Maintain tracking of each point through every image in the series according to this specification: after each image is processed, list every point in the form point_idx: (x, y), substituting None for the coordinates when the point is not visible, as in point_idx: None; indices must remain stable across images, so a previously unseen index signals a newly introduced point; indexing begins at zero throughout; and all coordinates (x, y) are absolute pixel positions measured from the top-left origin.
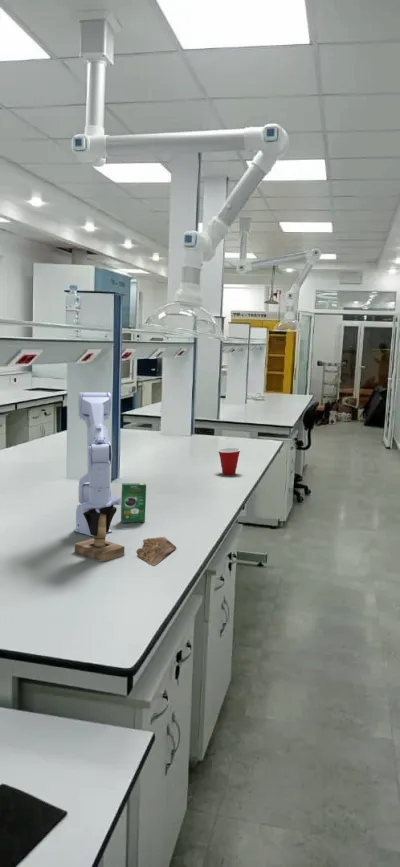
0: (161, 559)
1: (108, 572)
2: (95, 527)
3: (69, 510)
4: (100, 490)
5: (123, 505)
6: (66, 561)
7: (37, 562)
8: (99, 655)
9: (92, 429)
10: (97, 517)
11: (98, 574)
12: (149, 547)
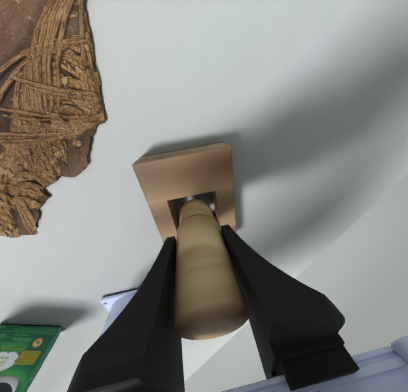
0: None
1: (274, 29)
2: (246, 244)
3: None
4: None
5: (23, 384)
6: (279, 194)
7: (315, 216)
8: None
9: None
10: (276, 289)
11: (307, 38)
12: (27, 167)
